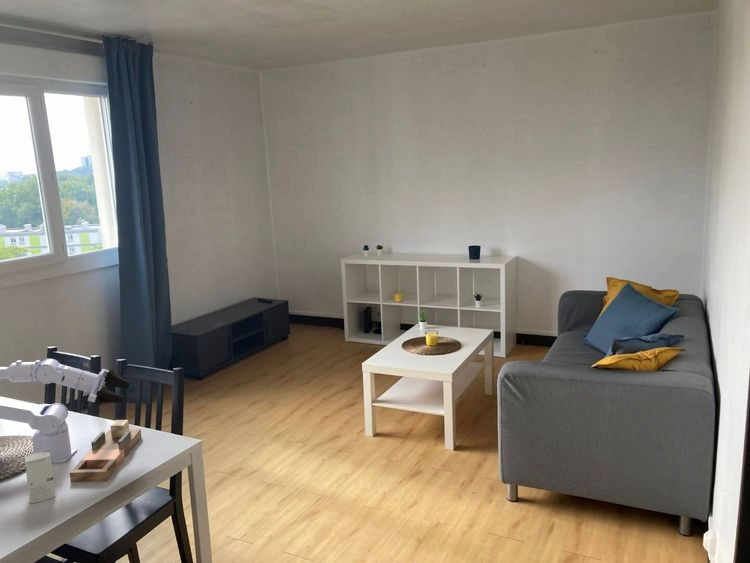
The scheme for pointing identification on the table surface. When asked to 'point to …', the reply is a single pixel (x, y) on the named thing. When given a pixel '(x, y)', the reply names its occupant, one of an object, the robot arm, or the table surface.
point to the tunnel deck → (104, 456)
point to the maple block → (119, 428)
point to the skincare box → (39, 476)
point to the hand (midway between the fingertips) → (126, 392)
